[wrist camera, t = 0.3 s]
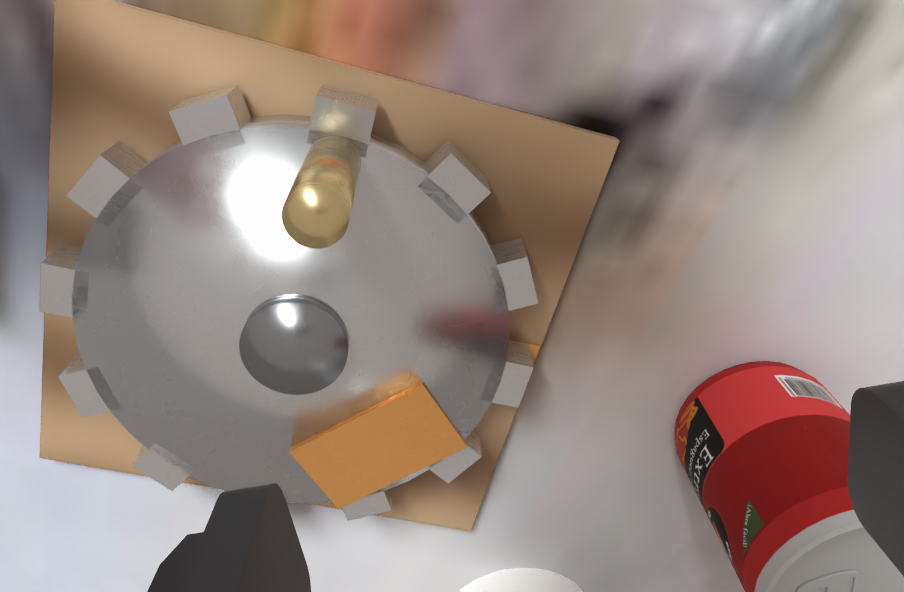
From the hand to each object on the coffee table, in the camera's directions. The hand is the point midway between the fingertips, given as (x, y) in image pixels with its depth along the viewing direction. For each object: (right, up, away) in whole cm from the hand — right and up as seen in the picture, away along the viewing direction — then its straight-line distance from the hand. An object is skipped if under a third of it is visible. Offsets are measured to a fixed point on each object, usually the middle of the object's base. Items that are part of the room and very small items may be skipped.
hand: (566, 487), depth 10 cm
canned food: (+14, -4, +27) cm, 31 cm away
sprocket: (-8, +2, +23) cm, 24 cm away
